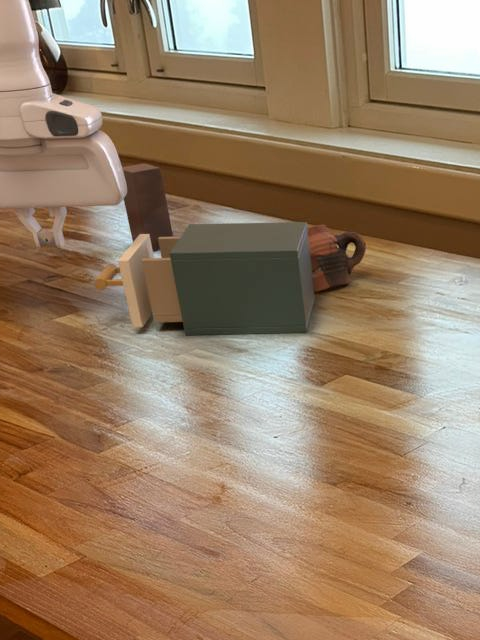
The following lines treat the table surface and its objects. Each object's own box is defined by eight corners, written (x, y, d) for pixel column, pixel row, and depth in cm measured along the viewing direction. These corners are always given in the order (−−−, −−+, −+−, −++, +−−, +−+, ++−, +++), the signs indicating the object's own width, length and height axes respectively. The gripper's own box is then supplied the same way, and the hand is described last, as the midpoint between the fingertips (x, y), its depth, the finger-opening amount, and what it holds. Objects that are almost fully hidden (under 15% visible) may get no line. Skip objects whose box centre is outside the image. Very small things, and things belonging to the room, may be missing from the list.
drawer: (97, 328, 116) (80, 261, 111) (119, 297, 125) (105, 234, 120) (245, 324, 116) (235, 258, 112) (257, 294, 125) (248, 231, 121)
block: (148, 252, 144) (132, 172, 137) (133, 246, 147) (116, 167, 140) (175, 246, 147) (160, 167, 140) (159, 240, 149) (144, 163, 142)
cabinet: (185, 335, 116) (169, 252, 110) (203, 301, 126) (189, 224, 120) (306, 332, 117) (297, 250, 111) (315, 298, 127) (306, 221, 121)
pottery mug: (295, 301, 127) (269, 238, 126) (296, 311, 137) (271, 253, 135) (379, 267, 129) (354, 205, 127) (374, 280, 138) (350, 222, 136)
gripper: (-92, 123, 104) (-48, 256, 112) (100, 118, 104) (130, 251, 113) (-69, 113, 109) (-28, 241, 117) (114, 109, 109) (141, 236, 118)
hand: (51, 246), depth 115 cm, fingers closed
